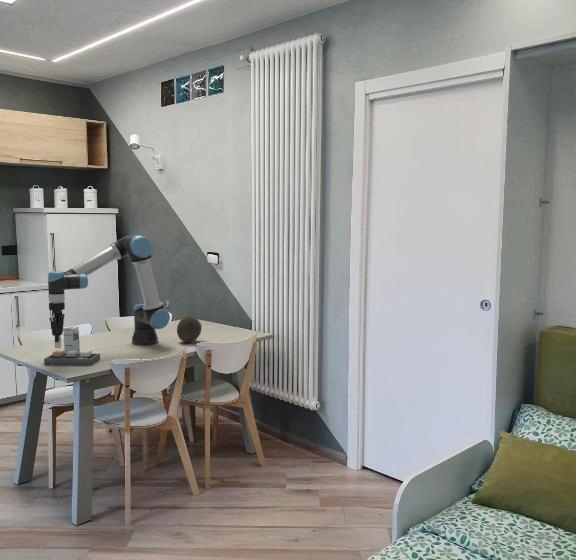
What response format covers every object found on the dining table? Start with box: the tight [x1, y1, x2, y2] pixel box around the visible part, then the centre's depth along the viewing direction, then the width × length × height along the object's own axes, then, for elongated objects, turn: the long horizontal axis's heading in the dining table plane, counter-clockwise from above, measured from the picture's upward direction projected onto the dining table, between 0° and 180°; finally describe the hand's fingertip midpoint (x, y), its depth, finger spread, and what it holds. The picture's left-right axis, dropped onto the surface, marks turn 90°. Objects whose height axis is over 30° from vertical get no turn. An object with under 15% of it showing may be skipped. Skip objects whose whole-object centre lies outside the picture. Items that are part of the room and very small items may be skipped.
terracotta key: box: [52, 349, 65, 356], centre depth 302 cm, size 4×4×2 cm
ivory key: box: [79, 350, 93, 357], centre depth 301 cm, size 4×4×2 cm
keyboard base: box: [43, 352, 101, 366], centre depth 302 cm, size 24×12×4 cm, turn 88°
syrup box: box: [63, 325, 81, 353], centre depth 320 cm, size 6×6×14 cm
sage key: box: [66, 351, 78, 357], centre depth 302 cm, size 4×4×2 cm
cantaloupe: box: [176, 316, 202, 344], centre depth 349 cm, size 14×14×15 cm
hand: (58, 347), depth 301 cm, fingers closed
